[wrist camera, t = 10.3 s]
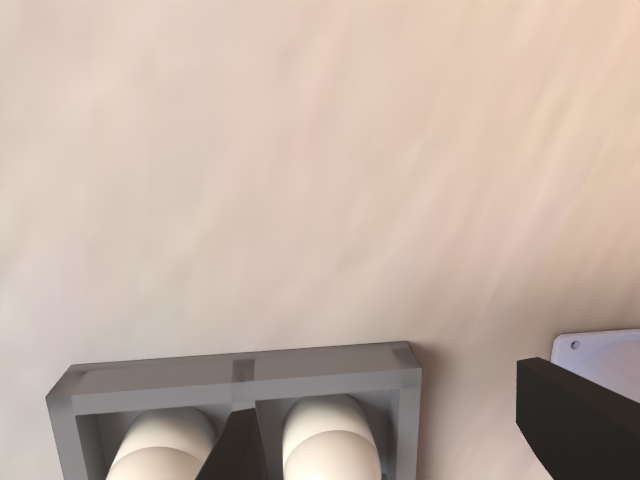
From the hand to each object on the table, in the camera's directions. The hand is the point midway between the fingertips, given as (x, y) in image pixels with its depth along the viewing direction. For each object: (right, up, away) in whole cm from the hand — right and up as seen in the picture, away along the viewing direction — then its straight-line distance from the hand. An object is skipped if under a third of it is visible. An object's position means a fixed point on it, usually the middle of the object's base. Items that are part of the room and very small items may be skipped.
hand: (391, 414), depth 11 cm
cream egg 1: (-9, -5, +10) cm, 14 cm away
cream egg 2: (-2, -5, +10) cm, 12 cm away
